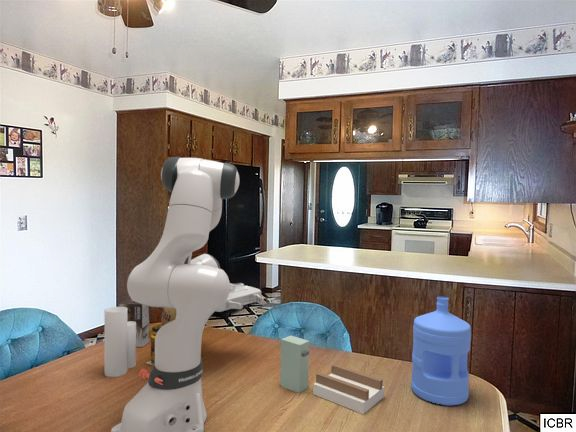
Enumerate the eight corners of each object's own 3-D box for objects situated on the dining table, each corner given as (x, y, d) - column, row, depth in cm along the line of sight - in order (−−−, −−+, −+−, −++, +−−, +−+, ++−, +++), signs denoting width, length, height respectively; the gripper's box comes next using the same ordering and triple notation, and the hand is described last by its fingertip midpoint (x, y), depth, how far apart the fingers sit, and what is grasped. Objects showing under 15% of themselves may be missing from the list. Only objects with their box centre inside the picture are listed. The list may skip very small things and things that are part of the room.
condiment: (145, 363, 133) (145, 328, 132) (161, 354, 141) (161, 320, 140) (163, 367, 130) (163, 330, 130) (178, 357, 138) (179, 323, 138)
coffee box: (150, 341, 153) (150, 299, 153) (142, 347, 147) (142, 304, 146) (127, 340, 154) (127, 298, 154) (118, 346, 148) (118, 302, 147)
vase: (120, 377, 122) (121, 313, 121) (98, 376, 123) (98, 311, 122) (138, 362, 133) (138, 303, 133) (118, 361, 134) (118, 302, 133)
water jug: (400, 383, 122) (403, 292, 121) (445, 378, 126) (449, 290, 125) (431, 410, 107) (435, 306, 106) (481, 403, 111) (485, 303, 110)
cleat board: (363, 414, 104) (364, 393, 104) (313, 394, 114) (313, 375, 114) (384, 397, 114) (384, 378, 113) (336, 380, 124) (336, 362, 123)
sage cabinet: (300, 394, 114) (302, 345, 114) (280, 385, 119) (281, 339, 119) (310, 388, 118) (311, 341, 117) (289, 380, 123) (290, 335, 122)
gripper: (198, 292, 130) (228, 299, 121) (244, 282, 146) (272, 288, 137) (198, 311, 130) (227, 320, 121) (244, 299, 146) (272, 306, 137)
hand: (252, 303), depth 129 cm, fingers open, 8 cm apart
